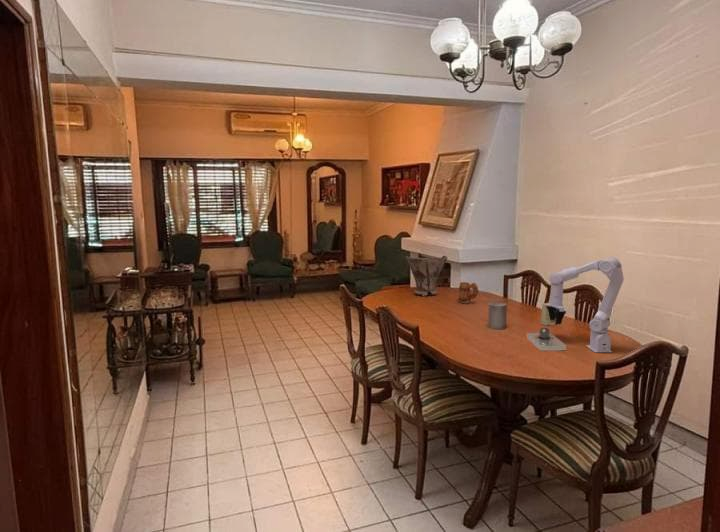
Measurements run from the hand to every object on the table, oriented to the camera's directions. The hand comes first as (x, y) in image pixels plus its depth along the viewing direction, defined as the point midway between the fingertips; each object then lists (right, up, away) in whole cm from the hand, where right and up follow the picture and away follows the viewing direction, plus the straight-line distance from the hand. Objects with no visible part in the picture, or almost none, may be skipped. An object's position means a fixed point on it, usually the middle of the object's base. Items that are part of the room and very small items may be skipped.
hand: (555, 321), depth 231 cm
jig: (-7, -10, -5) cm, 13 cm away
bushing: (-7, -10, -3) cm, 13 cm away
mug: (-25, +2, +82) cm, 86 cm away
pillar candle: (-22, -6, +25) cm, 34 cm away
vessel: (-49, +7, +112) cm, 123 cm away
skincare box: (+8, -5, +28) cm, 30 cm away
